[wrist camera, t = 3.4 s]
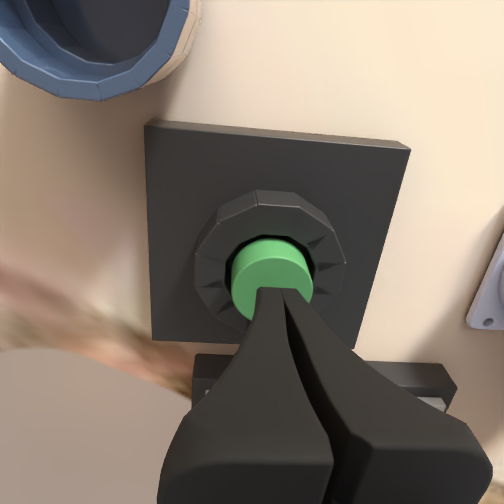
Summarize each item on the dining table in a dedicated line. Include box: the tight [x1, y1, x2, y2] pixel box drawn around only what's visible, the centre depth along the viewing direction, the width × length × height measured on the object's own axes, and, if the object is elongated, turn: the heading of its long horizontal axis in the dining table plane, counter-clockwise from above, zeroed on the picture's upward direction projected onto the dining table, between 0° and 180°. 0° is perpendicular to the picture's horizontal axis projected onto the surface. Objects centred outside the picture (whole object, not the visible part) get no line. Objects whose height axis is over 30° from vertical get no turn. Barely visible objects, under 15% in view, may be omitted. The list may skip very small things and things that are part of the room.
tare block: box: [144, 119, 411, 349], centre depth 16 cm, size 10×10×3 cm
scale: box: [192, 354, 457, 413], centre depth 23 cm, size 14×12×2 cm
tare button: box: [231, 238, 313, 320], centre depth 15 cm, size 3×3×2 cm
